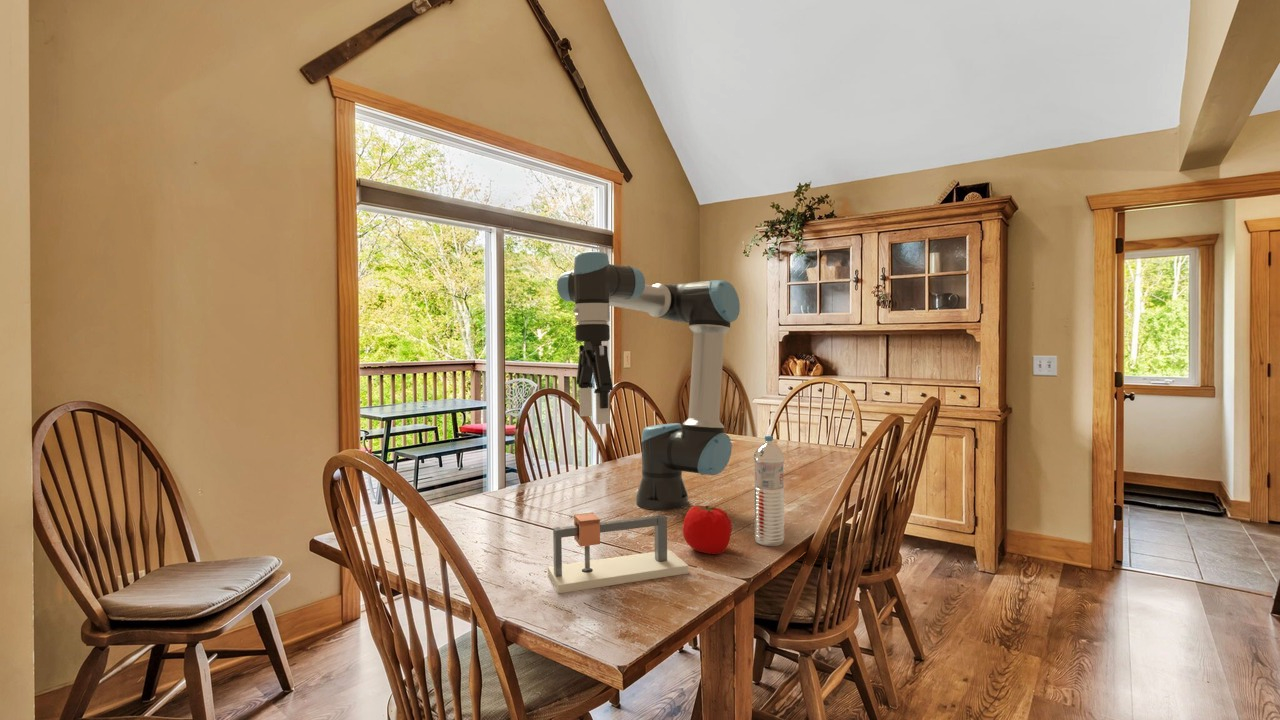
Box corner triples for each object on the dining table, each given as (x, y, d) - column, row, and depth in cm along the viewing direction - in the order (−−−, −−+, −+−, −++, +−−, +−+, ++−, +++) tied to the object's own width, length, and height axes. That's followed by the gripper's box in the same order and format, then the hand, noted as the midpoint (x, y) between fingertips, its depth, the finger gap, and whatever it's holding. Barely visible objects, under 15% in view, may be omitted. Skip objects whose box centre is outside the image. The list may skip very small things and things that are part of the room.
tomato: (705, 564, 128) (705, 516, 128) (671, 547, 139) (671, 503, 138) (745, 553, 134) (745, 508, 134) (709, 538, 145) (709, 496, 144)
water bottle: (765, 535, 146) (764, 433, 145) (789, 542, 141) (789, 436, 140) (748, 542, 141) (748, 436, 141) (773, 549, 136) (773, 440, 136)
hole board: (669, 556, 132) (669, 549, 132) (688, 573, 123) (688, 564, 123) (547, 574, 123) (547, 566, 123) (558, 593, 114) (558, 584, 114)
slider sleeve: (593, 561, 124) (593, 512, 123) (600, 570, 119) (599, 519, 119) (574, 564, 122) (574, 514, 122) (580, 573, 118) (580, 521, 117)
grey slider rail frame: (663, 557, 128) (663, 514, 127) (667, 560, 126) (666, 517, 125) (553, 573, 119) (553, 527, 119) (555, 577, 118) (555, 530, 117)
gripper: (562, 324, 142) (564, 414, 143) (591, 321, 119) (593, 428, 120) (593, 324, 145) (594, 412, 146) (627, 321, 121) (628, 426, 122)
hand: (594, 419), depth 133 cm, fingers open, 13 cm apart
